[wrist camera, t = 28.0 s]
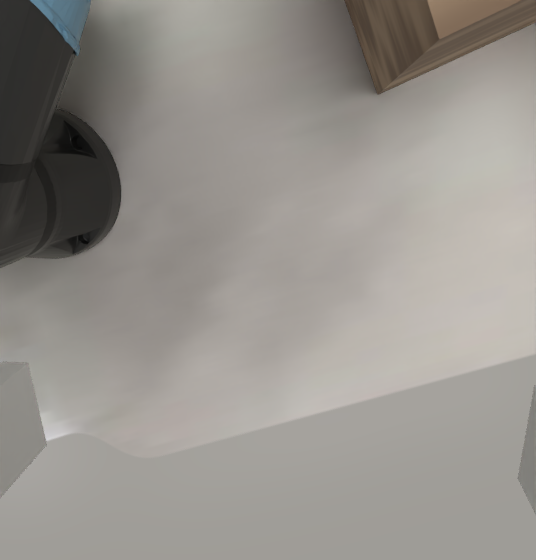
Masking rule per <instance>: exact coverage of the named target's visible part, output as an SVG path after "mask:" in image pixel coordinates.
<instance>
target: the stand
mask: <svg viewBox="0 0 536 560" xmlns="http://www.w3.org/2000/svg"><path fill="white" fill-rule="evenodd" d="M345 3H346V6H347V9H348V12H349V14H350V17H351V20H352V23H353V26H354V29H355V31H356V34H357V37H358V40H359V43H360V46H361V48H362V51H363V54H364V57H365V60H366V63H367V65H368V68H369V71H370V74H371V77H372V80H373V82H374V85H375V88H376V91H377V94H381V93H383V92H385V91H387V90H389V89H391V88H394V87H396V86H398V85H400V84H402V83H405V82H407V81H409V80H411V79H413V78H415V77H418V76H420V75H422V74H424V73H426V72H429V71H431V70H433V69H435V68H437V67H439V66H442V65H444V64H446V63H448V62H450V61H453V60H455V59H457V58H459V57H461V56H463V55H466V54H468V53H470V52H472V51H474V50H476V49H479V48H481V47H483V46H485V45H487V44H490V43H492V42H494V41H496V40H498V39H500V38H503V37H505V36H507V35H509V34H511V33H514V32H516V31H518V30H520V29H522V28H524V27H527V26H529V25H531V24H533V23H535V22H536V0H345Z"/></svg>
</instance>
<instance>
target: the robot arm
mask: <svg viewBox="0 0 536 560" xmlns="http://www.w3.org/2000/svg"><path fill="white" fill-rule="evenodd" d="M90 5H91V0H0V268H2V267H4V266H6V265H8V264H11V263H13V262H16V261H18V260H20V259H22V258H25V257H29V258H50V259H56V258H65V257H70V256H73V255H76V254H79V253H81V252H83V251H85V250H87V249H89V248H91V247H93V246H94V245H96V244H97V243H99V242H100V241H101V240H102V239H103V238H104V237H105V236H106V235H107V234H108V232H109V231H110V230H111V228H112V226H113V224H114V222H115V220H116V218H117V215H118V211H119V206H120V198H121V189H120V180H119V175H118V171H117V168H116V165H115V162H114V160H113V158H112V156H111V154H110V152H109V150H108V148H107V147H106V145H105V144H104V142H103V141H102V139H101V138H100V137H99V136H98V135H97V133H96V132H95V131H94V130H93V129H92V128H90V127H89V126H88V125H87V124H86V123H84V122H83V121H82V120H80V119H79V118H77V117H75V116H73V115H71V114H69V113H67V112H64V111H62V110H58V109H56V106H57V103H58V100H59V98H60V95H61V92H62V89H63V87H64V84H65V81H66V78H67V76H68V73H69V70H70V67H71V65H72V62H73V59H74V56H75V55H76V56H78V55H79V53H80V46H79V41H80V38H81V35H82V32H83V29H84V25H85V22H86V19H87V16H88V12H89V9H90ZM46 445H47V444H46V439H45V435H44V431H43V426H42V422H41V417H40V413H39V409H38V404H37V400H36V395H35V391H34V387H33V382H32V378H31V373H30V369H29V365H28V363H19V362H2V363H1V364H0V498H1V497H2V495H3V494H4V493H5V492H6V491H7V490H8V489H9V488H10V487H11V485H12V484H13V483H14V482H15V481H16V479H18V477H19V476H20V475H21V474H22V473H23V472H24V471H25V469H26V468H27V467H28V466H29V465H30V464H31V462H32V461H33V460H34V459H35V458H36V457H37V456H38V455H39V453H40V452H41V451H42V450H43V449H44V448H45V446H46ZM518 480H519V482H520V484H521V486H522V488H523V490H524V492H525V494H526V496H527V498H528V500H529V502H530V504H531V506H532V508H533V510H534V512H535V514H536V385H535V386H534V391H533V396H532V402H531V407H530V413H529V419H528V424H527V429H526V435H525V441H524V447H523V452H522V457H521V463H520V468H519V474H518Z"/></svg>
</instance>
